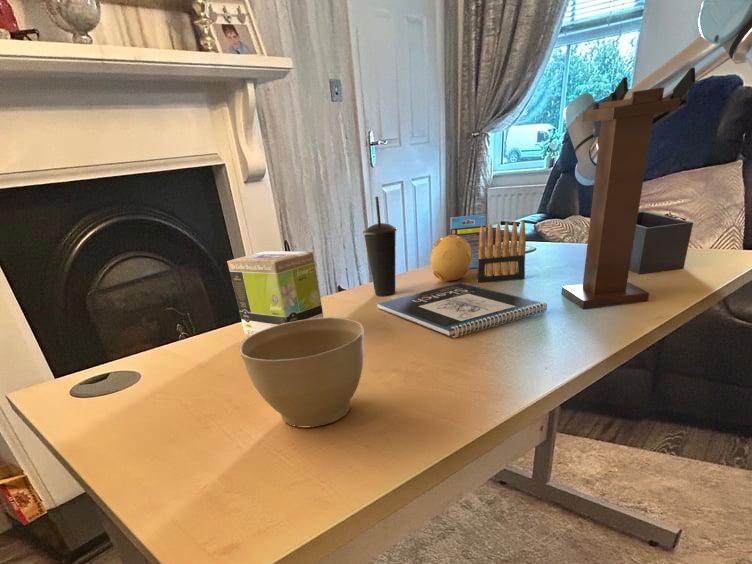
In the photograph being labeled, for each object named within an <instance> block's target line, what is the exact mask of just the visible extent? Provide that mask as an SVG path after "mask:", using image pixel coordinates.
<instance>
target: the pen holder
mask: <svg viewBox="0 0 752 564" xmlns="http://www.w3.org/2000/svg"><path fill="white" fill-rule="evenodd" d="M693 225H694V222H693V221H689V220H686V219H685V220H684V219H682V218H681V219H680V218H677V217H671V216H668V215H663V214H658V213H654V212H651V211H645V210H643V211H638V218H637V224H636V230H635V236H634V243H633V249H632V255H631V262H630V268H629V271H631V272H633V273H635V274H638V275H643V274H649V273H650V274H651V273H658V272H665V271H666V272H667V271H673V270H680V269H681V270H682V269H685V263H686V260H687V254H688V250H689V245H690V241H691V236H692V230H693Z"/></svg>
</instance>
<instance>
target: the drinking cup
mask: <svg viewBox="0 0 752 564" xmlns="http://www.w3.org/2000/svg"><path fill="white" fill-rule="evenodd" d="M374 199H375V209H376V210H375V211H376V220H377V223H375V224H372V225H370V226H369V227H367V228H366V229H365V230H363V231H362V235H363V236H364V241H365V245H366V251H367V256H368V262H369V267H370V272H371V278H372V283H373V289H374V294H375V296H377V297H388V296H392V295H395V294H396V291H397V288H396V287H397V286H396V285H397V282H396V281H397V280H396V277H397V276H396V275H397V272H396V271H397V270H396V267H397V264H396V263H397V261H396V257H397V254H396V253H397V251H396V250H397V243H396V242H397V240H396V239H397V236H396V235H397V231H398V228H397V227H396V226H394V225H392V224H389V223H384V222H381V210H380V199H379V196H375V197H374Z"/></svg>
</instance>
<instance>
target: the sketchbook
mask: <svg viewBox="0 0 752 564" xmlns="http://www.w3.org/2000/svg"><path fill="white" fill-rule="evenodd" d="M376 305H377V309H379V310H382V311H384V312H387V313H389V314H391V315H394V316H397V317H399V318H402V319H404V320H407V321H410V322H412V323H414V324H417V325H419V326H421V327H425V328H427V329H430V330H433V331H435V332H437V333H440V334H442V335H444V336H447V337H452V338H453V339H455V338H458V337H462V336H465V335H470V334H473V333H474V332H475V333H477V332H479V331H482V330H486V329H490V328H494V327H498V326H502V325H505V324H508V323H513V322H516V321H520V320H523V319H526V318H527V319H528V318H530V317H534V316H536V315H537V316H538V315H541V314H544V313H546V312H547V310H548V303H545V302H543V301H538V300H533V299H529V298H525V297H521V296H517V295H513V294H509V293H504V292H501V291H496V290H492V289H488V288H484V287H480V286H475V285H472V284H468V283H463V282H457V283H453V284H449V285H446V286H442V287H436V288H432V289H429V290H425V291H421V292H416V293H411V294H408V295H404V296H399V297H396V298H391V299H388V300H384V301H379V302H377V303H376Z"/></svg>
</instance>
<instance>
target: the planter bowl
mask: <svg viewBox="0 0 752 564" xmlns="http://www.w3.org/2000/svg"><path fill="white" fill-rule="evenodd" d="M364 338H365V329H364V326H363V325H362V323H360V322H358V321H357V320H355V319H351V318H346V317H345V318H344V317H330V316H329V317H324V318H313V319H305V320H299V321H293V322H288V323H284V324H280V325H276V326H273V327H270V328H267V329H264V330H262V331H259V332H257V333H255V334H253V335H251V336H247V337H246V338H245V339H244V340H243V341H242V342H241V343H240V345H239V347H238V351H239V355H240V357H241V359H242V361H243V363H244V365H245V369H246V371H247V375H248V376H249V378H250V380H251V383H252V384H253V386H254V388H255V389H256V391H257V392H258V393H259V395H260V396H261V397H262V399H263V400H264V401H265V402H266V403H267V404H268V405H269V406H270V407H271V408H272V409H273V410H274V411H276V412H277V413H278V414H280V416H281V418H282V420H283V421H284V423H286V422H287V423H289V424H291V425H295V426H310V427H309V428H312V427H311V426H317V427H319V426H318V425H322V426H325V425H324V424H326V425H329V424H332V423H334V422H336V421H339V420H340V419H341V418H343V417H344V416H346V415H347V414H348V412H349V411H350V408H351V401H352V399H353V397H354V395H355V394H356V391H357V388H358V387H359V383H360V381H361V377H362V374H363V373H362V372H363V367H364V362H365V361H364V358H365V356H364V355H365V350H364V349H365V347H364ZM287 423H286V424H287ZM328 423H329V424H328ZM289 424H288V425H289ZM291 425H290V426H291ZM295 426H294V427H295Z"/></svg>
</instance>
